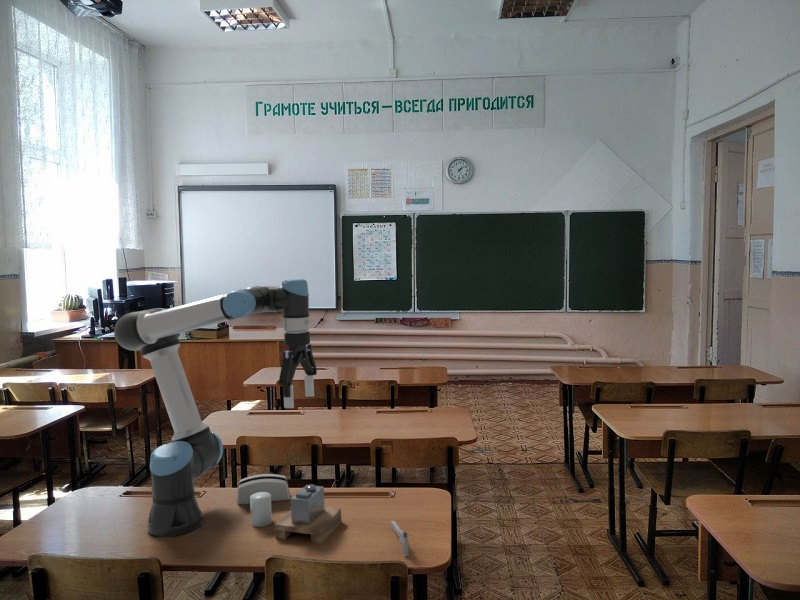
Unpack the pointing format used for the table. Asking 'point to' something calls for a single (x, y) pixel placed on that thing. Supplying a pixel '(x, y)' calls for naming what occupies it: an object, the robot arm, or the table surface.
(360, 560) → the table surface
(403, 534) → the caliper
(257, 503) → the pale grey pebble
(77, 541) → the table surface
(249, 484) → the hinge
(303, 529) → the stand
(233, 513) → the table surface
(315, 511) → the housing
